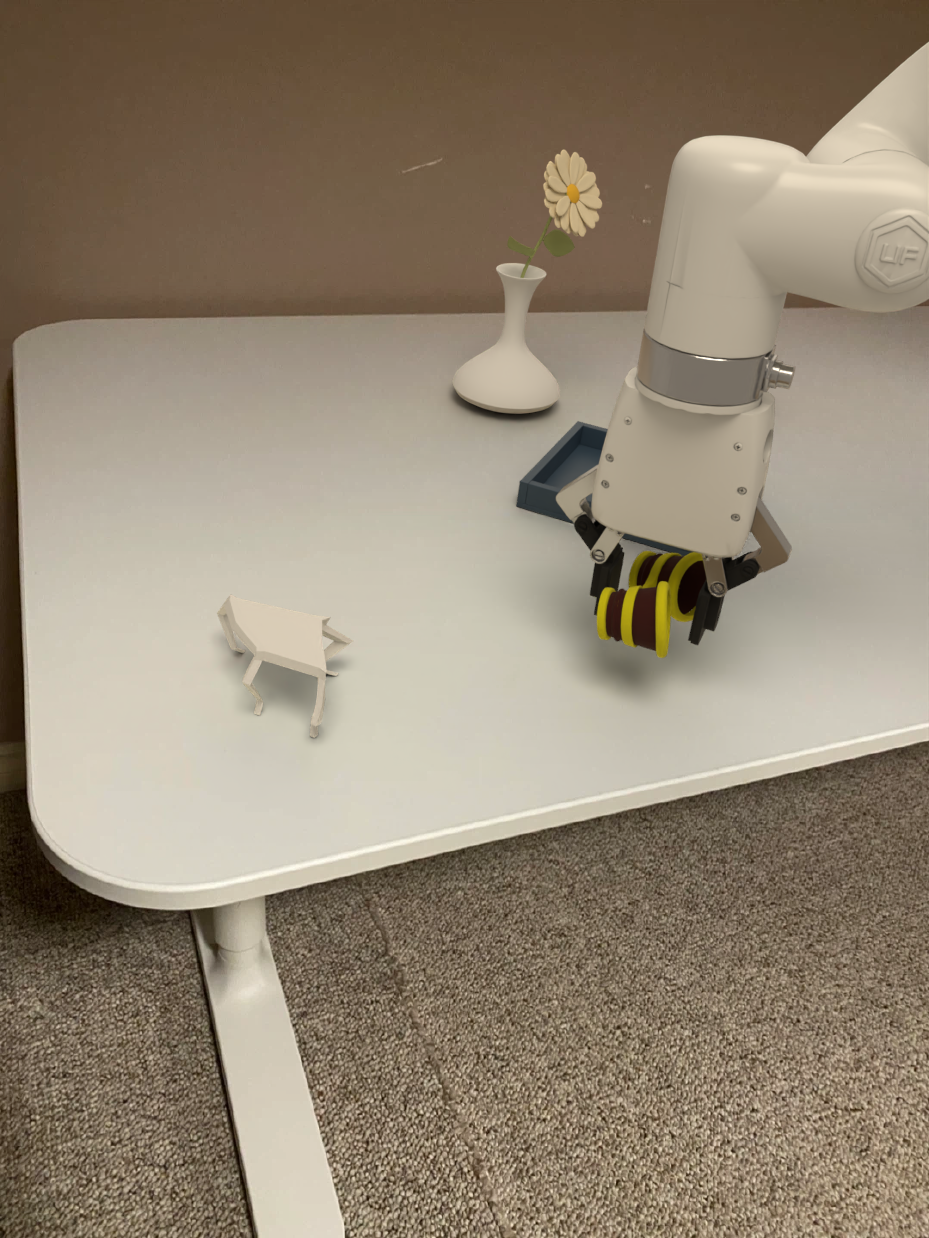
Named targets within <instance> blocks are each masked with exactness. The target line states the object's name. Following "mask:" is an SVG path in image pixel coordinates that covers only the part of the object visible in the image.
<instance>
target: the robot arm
mask: <svg viewBox="0 0 929 1238" xmlns="http://www.w3.org/2000/svg"><path fill="white" fill-rule="evenodd" d="M666 189H667V190H666V193H665V194H666V195H665V201H664V206H663V212H662V219H661V223H660V224H661V225H660V230H659V231H660V232H659V236H658V242H657V248H656V254H655V260H654V266H653V270H652V271H653V272H652V277H651V282H650V283H651V285H650V289H649V294H648V301H647V307H646V315H645V319H644V325H643V331H642V337H641V341H640V342H641V343H640V349H639V354H638V361H637V365H636V366H634V367H632V368H631V369H629V370H628V372H627V374H626V376H625V377H624V380H623V382H622V385H621V387H620V390H619V392H618V395H617V398H616V401H615V404H614V407H613V410H612V413H611V417H610V420H609V423H608V427H607V429H608V430H607V434H606V438H605V441H604V445H603V449H602V453H601V457H600V461H599V464H598V465H597V466H595V467H593V468H592V469H590V470H589V471H587V472H586V473H584V474H583V475H581V476H579V477H578V478H576V479H575V480H573V481H572V482H570V483H569V484H567V485H565V486H564V487H563V488H562V489H561V490H560V492H559V493H558V494H557V495H556V501H557V503H558V504H559V506H560V507H561V508H562V510H563V511H564V512H565V514H566V515H567V517H568V518H569V519H570V520H572V521H573V523H572V524H573V527H574V530H575V531H576V533H577V534H578V536H579V538H581V540H582V541H583V543H585V545H586V547H587V549H589V551H590V552H589V558H590V560H591V561H592V562H593V563H594V565H593V572H592V577H591V584H590V589H589V596H590V597H593V598H595V604H594V611H593V615H594V616H596V617H597V610H598V604H599V600H600V596H601V593H602V591H603V590H604V588H607V587H608V588H614V590H615V591H619V587H620V581H621V576H622V570H623V564H624V560H625V551H624V547H622V545H621V544H620V541H621V540H622V539H623V538H622V537H623V535H624V534H625V533H626V534H630V535H633V536H637V537H641V538H644V539H648V540H651V541H655V542H659V543H663V544H666V545H670V546H674V547H678V548H681V549H685V550H689V551H693V552H697V553H701V554H702V559H703V564H704V569H705V574H706V580H705V582H704V584H703V586H702V588H701V590H700V592H699V595H698V598H697V603H696V607H695V611H694V616H693V620H692V621H691V625H690V629H689V633H688V639H687V641H689V643H690V645H691V644H692V645H695V646H699V644H700V642H701V640H702V638H703V636H704V634H705V632H706V630H707V631H711V632H715V631H716V628H717V626H718V623H719V620H720V616H721V612H722V608H723V604H724V601H725V595H727V593H728V592H729V591H730V590H732V589H735V588H737V587H739V586H741V585H743V584H745V583H747V582H749V581H751V580H753V579H755V578H756V577H757V576H758V575H760V574H762V573H766V572H768V571H770V570H773V569H775V568H777V567H779V566H781V565H783V564H786V563H787V562H788V560H789V558H790V556H791V554H792V552H793V551H792V550H793V548H792V545H791V543H790V541H789V540H788V539H787V537H786V536H785V534H784V532H783V530H782V529H781V528H780V526H779V525H778V523H777V521H776V520H775V518H774V517H773V515H772V514H771V511H769V509H768V508H767V506H766V504H765V503H764V501H763V496H764V492H765V487H766V482H767V477H768V472H769V466H770V460H771V455H772V447H773V441H774V433H775V432H774V430H775V419H776V418H775V417H776V397H775V396H774V395H773V394H772V393H771V392H770V391H769V389H774V390H776V389H777V388H781V389H786V390H790V388H791V386H792V384H793V380H794V376H795V374H796V373H795V372H796V366H795V365H791V364H785V363H784V360H779V359H778V357H779V355H778V354H775V352H776V348H777V344H776V341H777V336H778V332H779V328H780V323H781V321H782V315H783V312H784V307H785V303H786V300H787V299H786V298H787V295H788V293H789V294H793V295H797V296H802V297H805V298H809V299H813V300H817V301H820V302H824V303H827V304H831V305H835V306H838V307H841V308H845V309H850V310H855V311H859V312H860V311H861V312H867V313H893V312H894V313H895V312H898V311H903V310H907V309H909V308H910V309H911V308H913V307H916V306H918V305H920V304H923V303H925V302H927V301H928V300H929V41H928V42H926V43H925V44H924V45H923V46H921V47H920V48H919V49H918V50H916V51H915V52H914V53H913V54H911V55H910V56H909V57H908V58H907V59H905V61H903V62H901V63H900V65H899V66H898V67H896V68H895V69H894V70H893V71H892V72H891V73H889V75H888V76H887V77H885V78H884V79H883V80H882V81H881V82H879V84H877V86H875V87H874V88H873V89H872V90H871V91H870V92H869V93H867V95H866V96H865V97H864V98H862V99H861V101H859V102H858V103H857V104H856V105H855V106H854V107H853V108H852V109H850V111H848V113H846V114H845V115H844V116H843V117H842V118H841V119H840V120H839V121H838V122H837V123H835V125H834V126H832V127H831V129H829V131H827V132H826V133H825V135H823V136H822V137H821V138H820V139H819V140H818V141H817V142H816V144H815V145H814V146H813V147H812V149H810V151H809V152H808V153H807V155H805V154H804V153H803V152H802V151H800V150H798V149H797V148H795V147H793V146H791V145H788V144H785V143H782V142H777V141H773V140H769V139H765V138H758V137H752V136H743V135H742V136H741V135H723V134H722V135H705V136H701V137H696V138H693V139H691V140H689V141H688V142H686V143H685V144H683V145H682V146H681V148H680V149H679V150H678V152H677V153H676V155H675V156H674V159H673V161H672V164H671V170H670V173H669V177H668V182H667V188H666ZM592 493H593V494H592ZM590 494H592V503H591V508H590V506H589V503H588V502H587V500H586V497H587V496H589V495H590ZM750 533H751V534H752V535H753V537H754V539H755V540H756V542H757V543H758V545H759V546H760V547H759V548H757V549H756V550H752V551H748V552H746V553H743V554H741V552H742V551H743V549H744V548H745V545H746V542H747V539H748V538H749V535H750ZM739 554H741V555H740V556H739ZM737 556H738V557H737ZM735 557H736V558H735Z"/></svg>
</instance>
